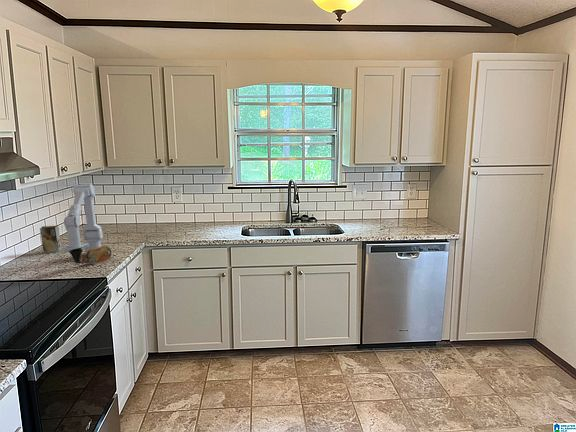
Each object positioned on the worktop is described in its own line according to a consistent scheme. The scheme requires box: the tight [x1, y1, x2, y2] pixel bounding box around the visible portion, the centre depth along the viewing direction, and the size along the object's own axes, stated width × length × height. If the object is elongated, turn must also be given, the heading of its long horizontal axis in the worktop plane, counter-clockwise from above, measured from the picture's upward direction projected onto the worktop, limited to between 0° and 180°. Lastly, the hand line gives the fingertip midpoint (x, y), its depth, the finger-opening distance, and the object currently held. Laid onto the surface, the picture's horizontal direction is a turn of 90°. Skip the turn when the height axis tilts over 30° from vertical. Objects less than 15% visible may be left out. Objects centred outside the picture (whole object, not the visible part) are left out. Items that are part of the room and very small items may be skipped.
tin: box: [86, 245, 112, 265], centre depth 240 cm, size 15×3×8 cm, turn 151°
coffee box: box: [39, 225, 62, 254], centre depth 265 cm, size 9×6×16 cm
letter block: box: [80, 252, 88, 263], centre depth 243 cm, size 5×4×5 cm
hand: (77, 262), depth 229 cm, fingers closed
